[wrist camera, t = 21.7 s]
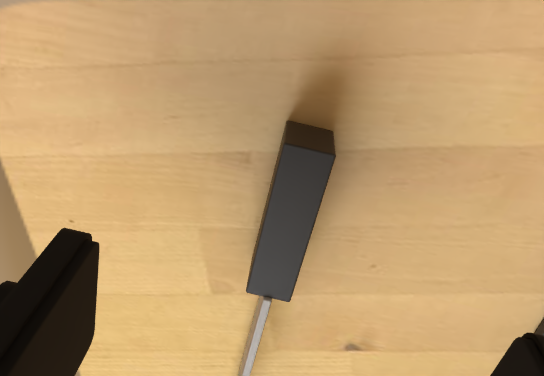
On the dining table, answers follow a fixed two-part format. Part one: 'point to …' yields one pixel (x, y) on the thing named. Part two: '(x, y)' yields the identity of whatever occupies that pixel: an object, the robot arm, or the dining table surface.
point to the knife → (287, 222)
